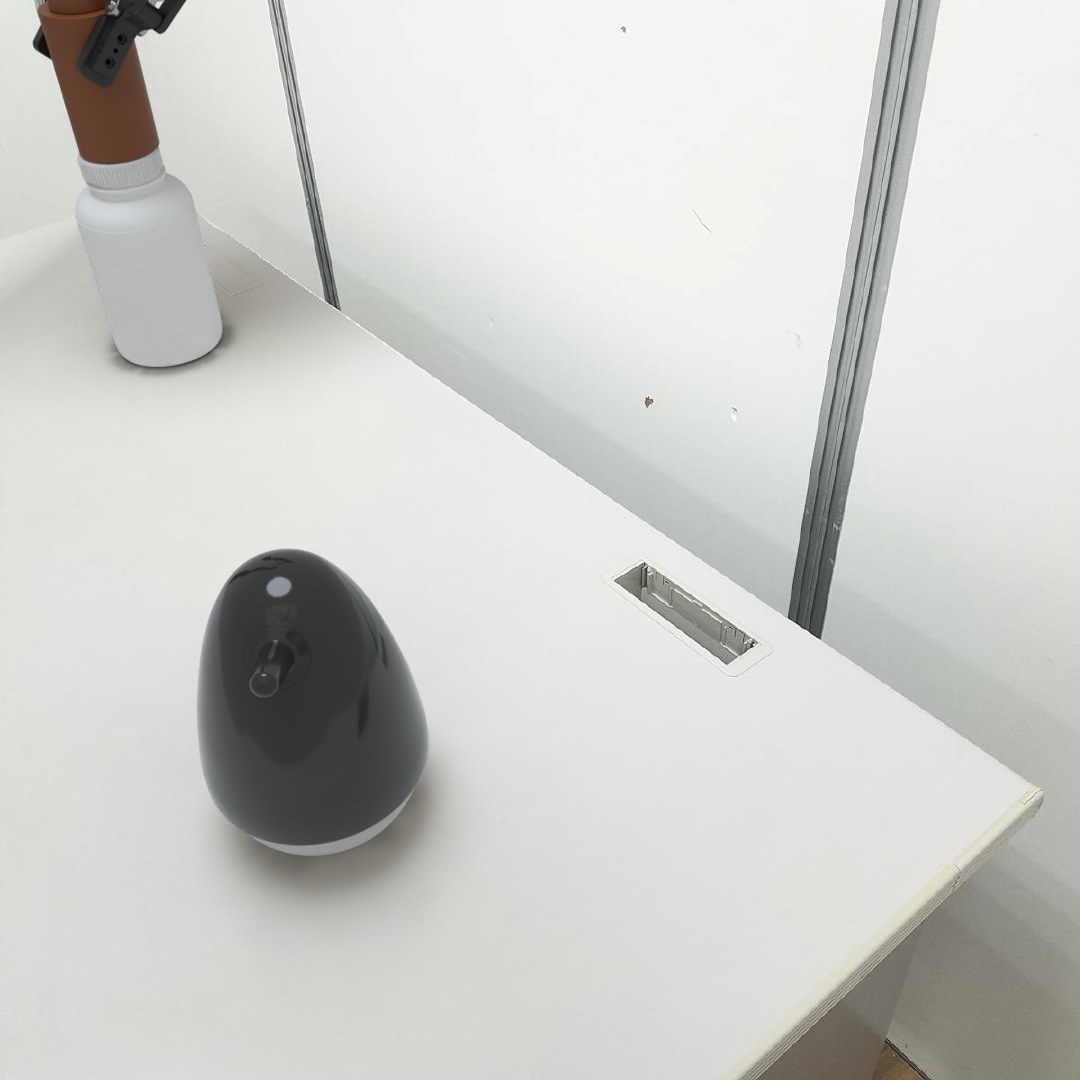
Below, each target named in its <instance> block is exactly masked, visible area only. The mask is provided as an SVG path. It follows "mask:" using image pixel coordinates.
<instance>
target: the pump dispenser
mask: <svg viewBox="0 0 1080 1080" xmlns="http://www.w3.org/2000/svg"><path fill="white" fill-rule="evenodd" d="M425 710H426V709H425V707H424V704H423V701H422V697H421V695H420V692H419V689H418V685H417V683H416V680H415V678H414V676H413V672H412V670H411V669H410V666H409V664H408V661H407V660H406V657H405V655H404V653H403V651H402V649H401V648H400V645H399V643H398V641H397V639H396V638H395V636H394V634H393V633H392V631H391V629H390V628H389V626H388V624H387V622H386V620H385V619H384V618H383V616H382V614H381V613H380V612H379V610H378V609H377V607H376V606H375V605H374V602H373V601H372V600H371V599H370V597H369V596H368V595H367V594H366V593H365V592H364V590H363V589H362V588H361V586H360V585H359V584H357V583H356V582H355V580H353V578H351V576H349V575H348V573H346V571H344V570H343V569H341V568H340V567H338V565H336V564H334V563H333V562H332V561H330V560H328V559H326V558H325V557H323V556H321V555H319V554H316V553H314V552H311V551H309V550H304V549H298V548H277V549H271V550H268V551H265V552H261V553H258V554H257V555H255V556H253V557H251V558H249V559H248V560H246V561H244V562H243V563H242V564H241V565H239V566H238V567H237V568H236V569H235V570H234V571H233V572H232V574H231V575H230V576H229V577H228V578H227V580H226V581H225V582H224V584H223V585H222V588H221V589H220V591H219V593H218V594H217V596H216V598H215V600H214V603H213V605H212V607H211V609H210V612H209V616H208V619H207V622H206V625H205V629H204V633H203V637H202V642H201V649H200V656H199V664H198V675H197V687H196V731H197V732H196V733H197V743H198V751H199V760H200V765H201V770H202V774H203V779H204V782H205V785H206V789H207V791H208V793H209V796H210V798H211V800H212V802H213V804H214V805H215V807H216V809H217V810H218V811H219V812H220V814H222V816H223V817H224V818H225V819H226V820H227V821H228V822H229V823H230V824H231V825H233V827H236V828H237V829H238V830H240V831H242V832H243V833H245V834H247V835H248V836H250V837H251V838H252V839H254V840H256V841H257V842H258V843H261V844H262V845H264V846H267V847H268V848H271V849H273V850H277V851H278V852H282V853H285V854H290V855H296V856H305V857H319V856H328V855H334V854H339V853H342V852H345V851H348V850H351V849H354V848H356V847H358V846H360V845H362V844H364V843H366V842H368V841H370V840H372V839H373V838H374V837H376V836H377V835H379V834H380V833H381V832H383V831H384V830H385V829H386V828H388V826H389V825H391V824H392V822H394V820H395V819H397V817H398V816H399V815H400V814H401V812H402V810H404V808H405V806H406V805H407V803H408V802H409V800H410V798H411V797H412V794H413V792H414V790H415V788H416V786H417V785H418V783H419V781H420V779H421V777H422V776H423V773H424V770H425V768H426V765H427V760H428V757H429V747H430V736H429V735H430V734H429V725H428V720H427V714H426V711H425Z"/></svg>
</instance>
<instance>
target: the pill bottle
mask: <svg viewBox="0 0 1080 1080" xmlns="http://www.w3.org/2000/svg"><path fill="white" fill-rule="evenodd" d="M76 157H77V158H76V160H77V163H78V167H79V170H80V173H81V176H82V178H83V180H84V182H85V184H86V186H85V188H83V190H82V191H81V192H80V194H79V195H78V197H77V199H76V201H75V207H74V210H75V211H74V212H75V214H74V216H75V221H76V224H77V227H78V230H79V234H80V236H81V240H82V243H83V244H82V245H83V246H84V250H85V252H86V253H85V254H86V256H87V260H88V263H89V266H90V269H91V272H92V275H93V278H94V281H95V285H96V288H97V291H98V294H99V297H100V300H101V303H102V307H103V311H104V314H105V317H106V320H107V323H108V326H109V329H110V332H111V335H112V338H113V343H114V344H115V347H116V349H117V351H118V352H119V354H120V355H121V356H122V357H123V358H124V359H126V360H127V361H128V362H131V363H133V364H136V365H139V366H143V367H149V368H165V367H171V366H172V367H173V366H178V365H182V364H185V363H189V362H192V361H194V360H196V359H199V358H202V357H203V356H205V355H206V354H208V353H209V352H210V351H212V350H213V349H214V348H215V347H216V346H217V345H218V344H219V342H220V340H221V339H222V335H223V321H222V316H221V315H222V314H221V311H220V306H219V302H218V299H217V294H216V291H215V286H214V282H213V277H212V274H211V273H212V272H211V269H210V265H209V260H208V256H207V252H206V248H205V244H204V239H203V235H202V231H201V227H200V222H199V219H198V214H197V211H196V210H197V209H196V206H195V202H194V198H193V195H192V193H191V192H190V190H189V188H188V186H187V185H186V184H185V183H184V182H183V180H181V179H179V178H178V177H176V176H174V175H173V174H170V173H168V172H167V167H166V166H165V165H164V161H163V158H162V154H161V150H160V146H158V147H157V149H156V150H154V151H153V152H152V153H150V154H148V155H146V156H144V157H141V158H138V159H135V160H131V161H126V162H120V163H96V162H91V161H88V160H85V159H84V158H82V157H81V156H80V154H79V152H78V153H77V156H76Z"/></svg>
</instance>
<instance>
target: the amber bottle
mask: <svg viewBox="0 0 1080 1080" xmlns="http://www.w3.org/2000/svg"><path fill="white" fill-rule="evenodd" d="M106 1H107V0H46V1H44V2H43V3H41V4H40V5H38V7H37V10H36V12H37V15H38V18H39V21H40V22H39V23H40V25H42V29H43V32H44V35H45V39H46V42H47V45H48V49H49V52H50V56H51V59H52V60H51V62H52V65H53V68H54V72H55V75H56V79H57V83H58V86H59V89H60V92H61V93H60V94H61V96H62V99H63V103H64V106H65V110H66V113H67V116H68V120H69V123H70V127H71V130H72V134H73V136H74V140H75V143H76V147H77V150H78V153H79V154H80V156H81V157H82V158H84V159H85V160H88V161H91V162H96V163H120V162H126V161H131V160H135V159H138V158H141V157H144V156H146V155H148V154H150V153H152V152H153V151H154V150H156V149H157V147H158V146H159V145H160V139H159V133H158V129H157V125H156V121H155V116H154V113H153V109H152V106H151V102H150V97H149V93H148V89H147V85H146V82H145V81H146V80H145V76H144V73H143V69H142V65H141V62H140V57H139V51H138V48H137V43H136V40H135V39H134V41H133V43H132V45H131V47H130V49H129V51H128V53H127V55H126V57H125V59H124V61H123V63H122V65H121V67H120V69H119V71H118V73H117V75H116V77H115V79H114V81H113V83H112V85H111V86H110V87H108V88H103V87H101V86H99V85H97V84H95V83H94V82H92V81H91V80H89V79H87V78H86V77H84V76H83V75H81V74H80V73H78V72H77V70H76V62H77V60H78V58H79V56H80V54H81V52H82V50H83V48H84V46H85V44H86V42H87V40H88V38H89V36H90V34H91V32H92V30H93V28H94V26H95V24H96V22H97V20H98V18H99V16H100V14H102V15H104V16H106V17H108V16H109V15H107V14H106V13H105V4H106ZM159 147H160V146H159Z"/></svg>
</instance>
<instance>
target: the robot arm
mask: <svg viewBox="0 0 1080 1080" xmlns="http://www.w3.org/2000/svg"><path fill="white" fill-rule="evenodd" d="M161 2H162V3H161ZM186 2H187V0H107V1H106V4H105V13H106V14H107V15H109V16H108V17H106V16H104V15H102V14H100V16H99V18H98V20H97V22H96V24H95V26H94V28H93V30H92V32H91V34H90V36H89V38H88V40H87V42H86V44H85V46H84V48H83V50H82V52H81V54H80V56H79V58H78V60H77V62H76V70H77V72H78V73H80V74H81V75H83V76H84V77H86V78H87V79H89V80H91V81H92V82H94V83H95V84H97V85H99V86H101V87H103V88H108V87H110V86H111V85H112V83H113V81H114V79H115V77H116V75H117V73H118V71H119V69H120V67H121V65H122V63H123V61H124V59H125V57H126V55H127V53H128V51H129V49H130V47H131V45H132V43H133V41H134V40H135V39H136V38H137V37H140V38H141V37H144V36H145V35H146V34H148V32H149V31H151V30H152V31H154V33H157V34H158V35H162V34H164V33H165V32H166V31H167V30H168V29H169V27H170V25H171V24H172V23H173V22H174V20H175V18H176V17H177V15H178V14H179V13H180V11H181V9H182V8H183V6H184V5H185V3H186ZM157 3H161V4H160V5H159V7H156V5H157ZM32 47H33V49H34V50H35V51H36V52H38V53H39V54H41V55H42V56H44V57H46V58H47V59H48V60H51V61H52V59H51V56H50V52H49V49H48V45H47V42H46V39H45V35H44V32H43V29H42V25H41V24H40V25H39V27H38V29H37V32H36V33H35V36H34V37H33V40H32Z"/></svg>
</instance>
